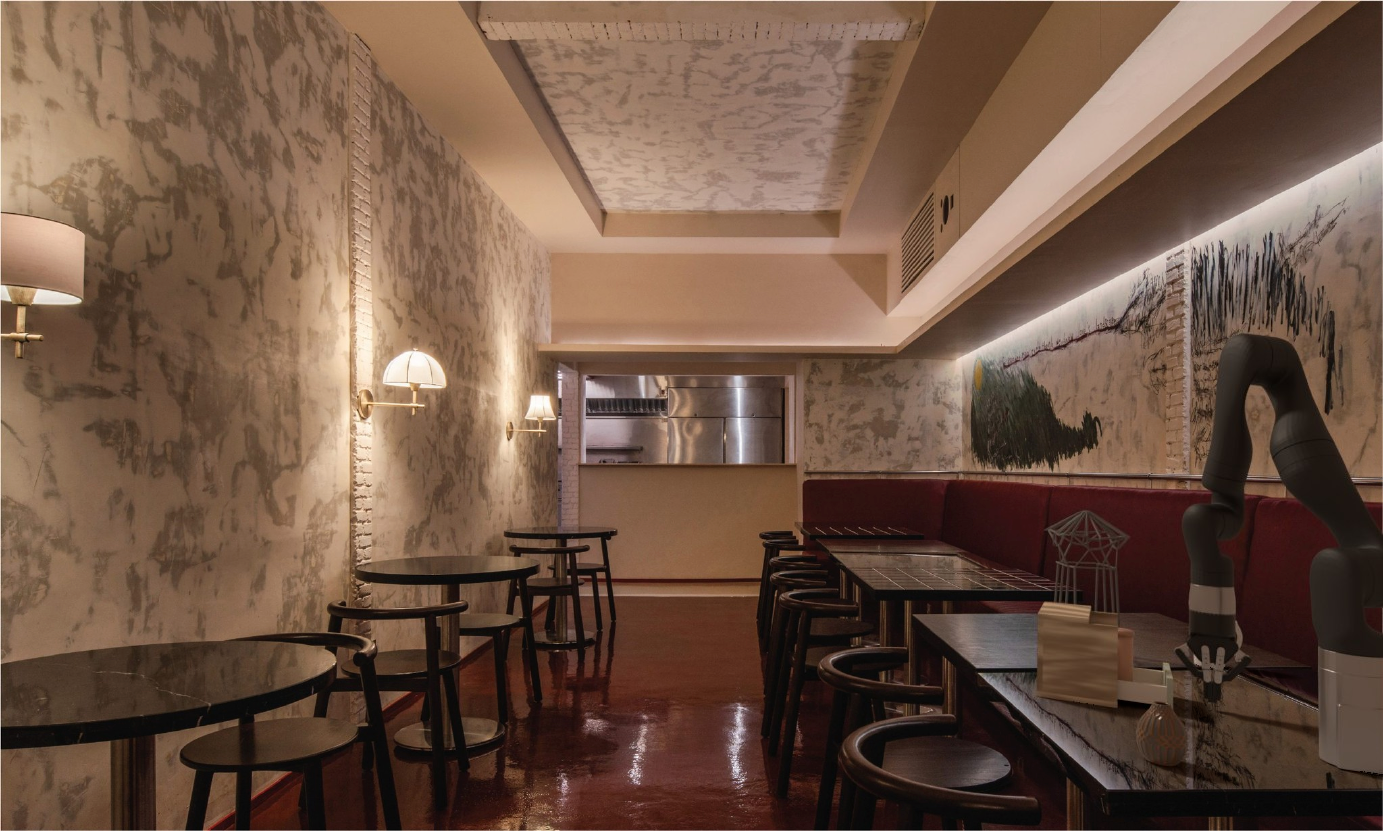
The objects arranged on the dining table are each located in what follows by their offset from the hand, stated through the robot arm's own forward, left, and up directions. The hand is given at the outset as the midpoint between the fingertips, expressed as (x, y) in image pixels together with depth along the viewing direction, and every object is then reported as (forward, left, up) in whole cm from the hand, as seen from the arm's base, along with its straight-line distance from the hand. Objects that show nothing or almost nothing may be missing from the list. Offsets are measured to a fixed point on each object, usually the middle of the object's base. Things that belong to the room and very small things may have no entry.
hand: (1212, 702), depth 159 cm
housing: (0, +23, -2) cm, 23 cm away
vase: (-39, +10, -2) cm, 40 cm away
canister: (0, +16, +1) cm, 16 cm away
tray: (0, +13, -1) cm, 14 cm away
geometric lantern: (+39, +23, -2) cm, 45 cm away
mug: (+46, -5, -2) cm, 46 cm away
